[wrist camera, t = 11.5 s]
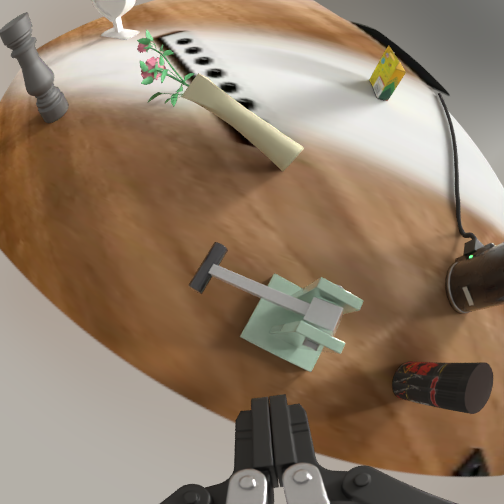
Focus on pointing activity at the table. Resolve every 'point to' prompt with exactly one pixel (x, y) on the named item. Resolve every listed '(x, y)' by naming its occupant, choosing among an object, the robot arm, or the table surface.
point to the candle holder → (34, 68)
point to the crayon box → (387, 75)
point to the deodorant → (445, 385)
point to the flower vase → (222, 108)
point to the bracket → (297, 323)
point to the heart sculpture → (115, 16)
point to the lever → (267, 292)
